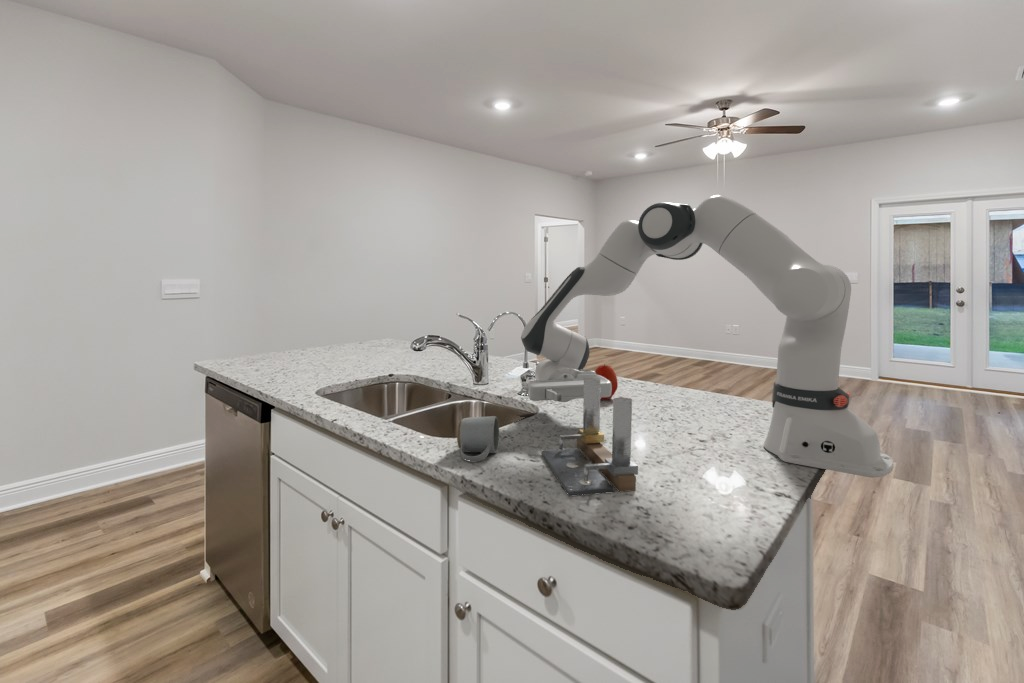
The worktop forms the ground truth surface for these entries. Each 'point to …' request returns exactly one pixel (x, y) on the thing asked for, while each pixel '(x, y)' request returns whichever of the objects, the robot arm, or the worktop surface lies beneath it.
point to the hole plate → (575, 472)
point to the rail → (598, 455)
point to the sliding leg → (589, 415)
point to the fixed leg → (619, 442)
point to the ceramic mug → (478, 436)
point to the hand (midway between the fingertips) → (578, 396)
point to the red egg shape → (610, 375)
